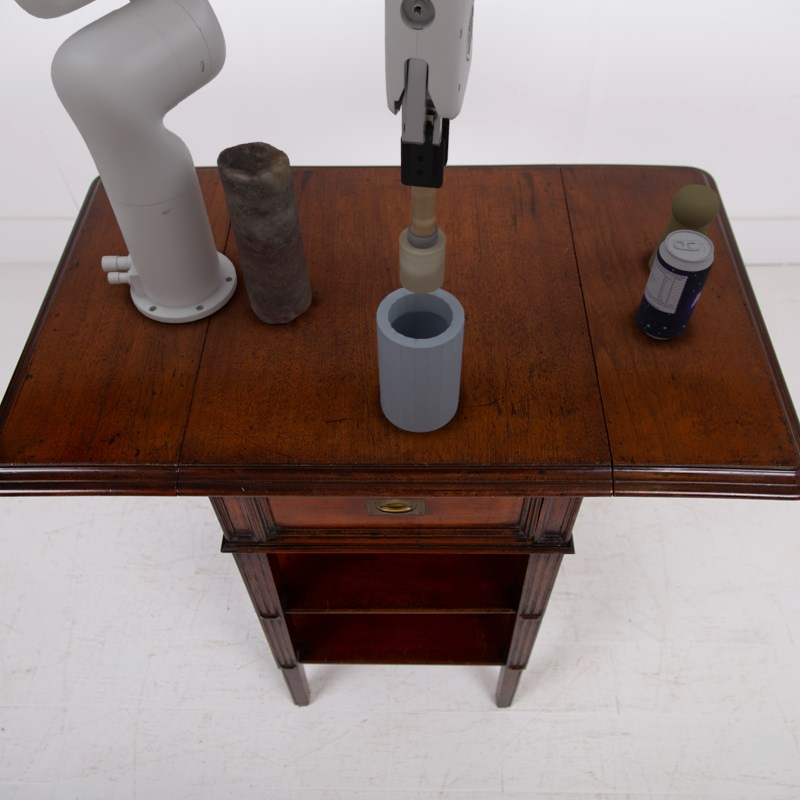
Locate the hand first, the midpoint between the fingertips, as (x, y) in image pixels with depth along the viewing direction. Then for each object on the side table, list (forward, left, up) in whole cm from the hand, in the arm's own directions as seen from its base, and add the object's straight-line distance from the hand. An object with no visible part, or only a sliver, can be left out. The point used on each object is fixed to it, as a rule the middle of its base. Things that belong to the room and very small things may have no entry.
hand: (424, 172), depth 59 cm
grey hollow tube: (0, 0, -28) cm, 28 cm away
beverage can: (+28, +10, -28) cm, 41 cm away
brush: (0, 0, -11) cm, 11 cm away
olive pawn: (+32, +20, -28) cm, 47 cm away
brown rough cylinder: (-16, +15, -28) cm, 36 cm away
